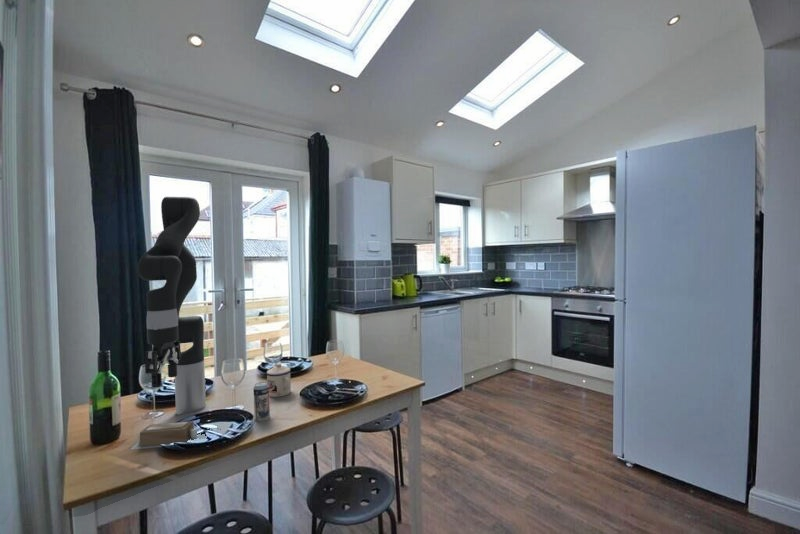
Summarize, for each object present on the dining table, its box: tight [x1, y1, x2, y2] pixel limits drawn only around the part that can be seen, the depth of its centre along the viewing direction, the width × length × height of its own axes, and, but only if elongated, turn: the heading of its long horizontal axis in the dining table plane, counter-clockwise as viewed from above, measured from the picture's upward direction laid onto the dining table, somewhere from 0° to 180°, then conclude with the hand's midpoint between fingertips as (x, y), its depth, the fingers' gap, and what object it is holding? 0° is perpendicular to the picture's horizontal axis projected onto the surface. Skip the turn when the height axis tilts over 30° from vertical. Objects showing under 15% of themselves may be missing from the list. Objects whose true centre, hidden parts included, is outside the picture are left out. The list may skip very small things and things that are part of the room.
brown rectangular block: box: [139, 421, 195, 447], centre depth 103 cm, size 5×12×4 cm, turn 97°
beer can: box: [253, 381, 271, 422], centre depth 117 cm, size 5×5×12 cm
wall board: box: [129, 421, 234, 451], centre depth 106 cm, size 13×23×4 cm, turn 97°
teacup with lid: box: [266, 363, 292, 398], centre depth 141 cm, size 12×9×12 cm
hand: (165, 381), depth 103 cm, fingers open, 8 cm apart
